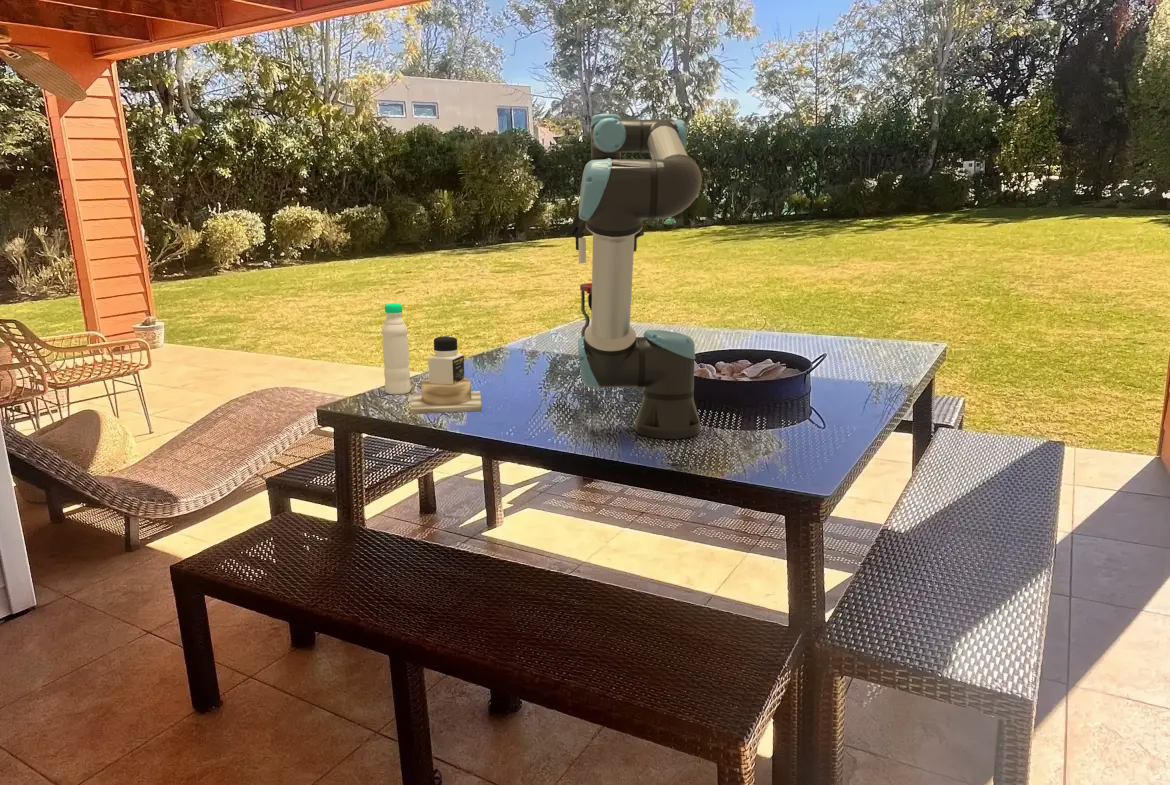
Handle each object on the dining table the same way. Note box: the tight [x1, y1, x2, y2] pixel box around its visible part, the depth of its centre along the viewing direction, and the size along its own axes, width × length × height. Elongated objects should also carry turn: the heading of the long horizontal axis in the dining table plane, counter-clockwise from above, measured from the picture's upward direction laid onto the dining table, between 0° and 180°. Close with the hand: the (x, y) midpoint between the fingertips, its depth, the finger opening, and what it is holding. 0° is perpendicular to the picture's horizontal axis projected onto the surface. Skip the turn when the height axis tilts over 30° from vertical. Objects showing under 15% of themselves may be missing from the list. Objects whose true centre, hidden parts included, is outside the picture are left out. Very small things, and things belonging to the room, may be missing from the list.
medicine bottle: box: [427, 335, 466, 385], centre depth 217 cm, size 7×7×12 cm
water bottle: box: [381, 302, 412, 396], centre depth 231 cm, size 7×7×25 cm
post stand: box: [409, 377, 482, 415], centre depth 219 cm, size 18×18×6 cm
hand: (605, 264), depth 213 cm, fingers open, 13 cm apart
